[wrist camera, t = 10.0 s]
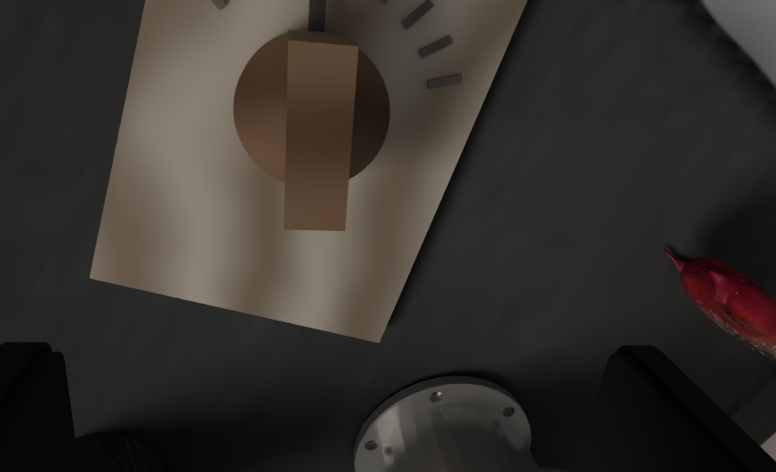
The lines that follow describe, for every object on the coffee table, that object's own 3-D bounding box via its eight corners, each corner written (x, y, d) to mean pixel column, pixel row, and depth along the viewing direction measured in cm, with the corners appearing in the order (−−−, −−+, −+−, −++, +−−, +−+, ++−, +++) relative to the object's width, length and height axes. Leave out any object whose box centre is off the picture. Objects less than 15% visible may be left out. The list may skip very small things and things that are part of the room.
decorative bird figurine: (640, 193, 33) (770, 271, 24) (780, 331, 40) (922, 432, 31) (605, 228, 34) (720, 317, 25) (748, 358, 40) (880, 465, 31)
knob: (378, 180, 28) (401, 232, 22) (237, 175, 27) (222, 228, 21) (400, -49, 24) (436, -60, 18) (233, -69, 23) (214, -88, 17)
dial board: (551, -86, 26) (568, -90, 24) (375, 328, 34) (379, 344, 32) (207, -264, 21) (201, -283, 20) (98, 264, 29) (88, 280, 28)
